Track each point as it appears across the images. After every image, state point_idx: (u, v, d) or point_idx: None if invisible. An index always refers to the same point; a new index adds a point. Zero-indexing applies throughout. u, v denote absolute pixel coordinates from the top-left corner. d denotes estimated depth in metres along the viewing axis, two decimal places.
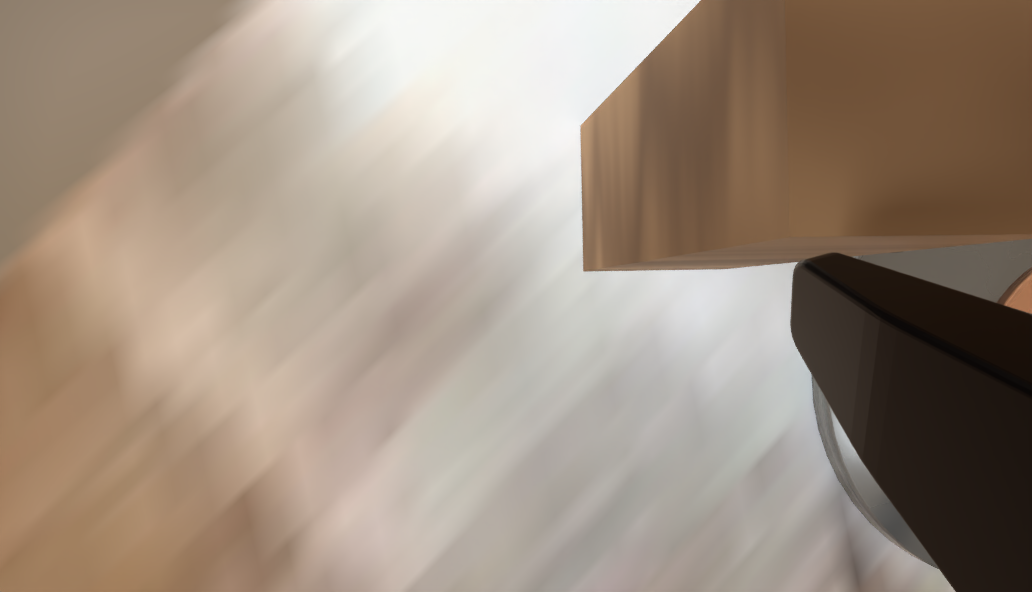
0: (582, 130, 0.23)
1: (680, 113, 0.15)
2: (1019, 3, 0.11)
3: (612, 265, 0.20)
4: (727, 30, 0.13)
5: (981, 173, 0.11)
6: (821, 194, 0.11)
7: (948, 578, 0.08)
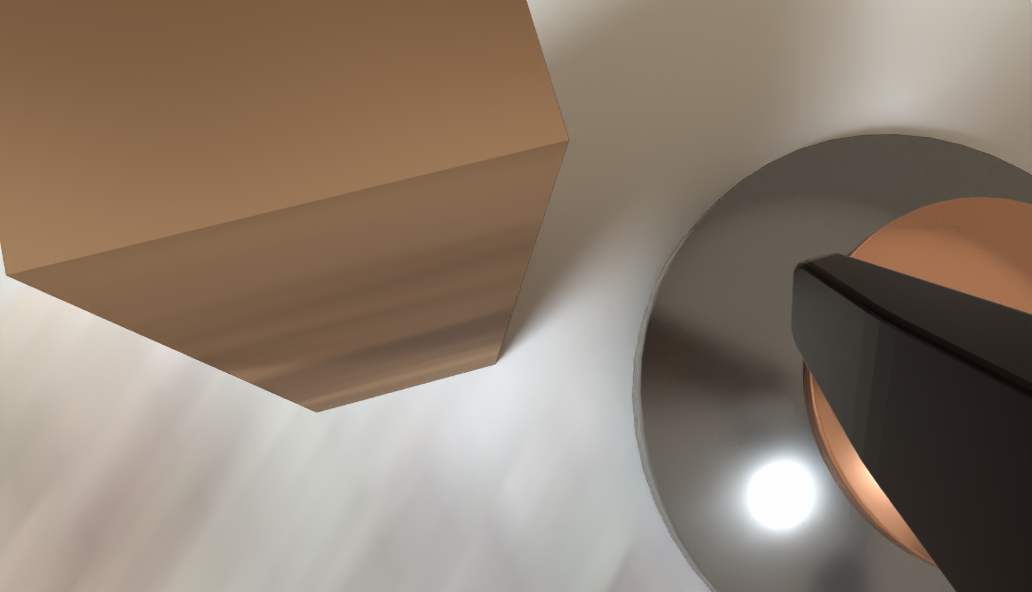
0: None
1: None
2: None
3: (284, 397, 0.15)
4: None
5: (354, 87, 0.06)
6: (58, 188, 0.06)
7: (948, 578, 0.08)
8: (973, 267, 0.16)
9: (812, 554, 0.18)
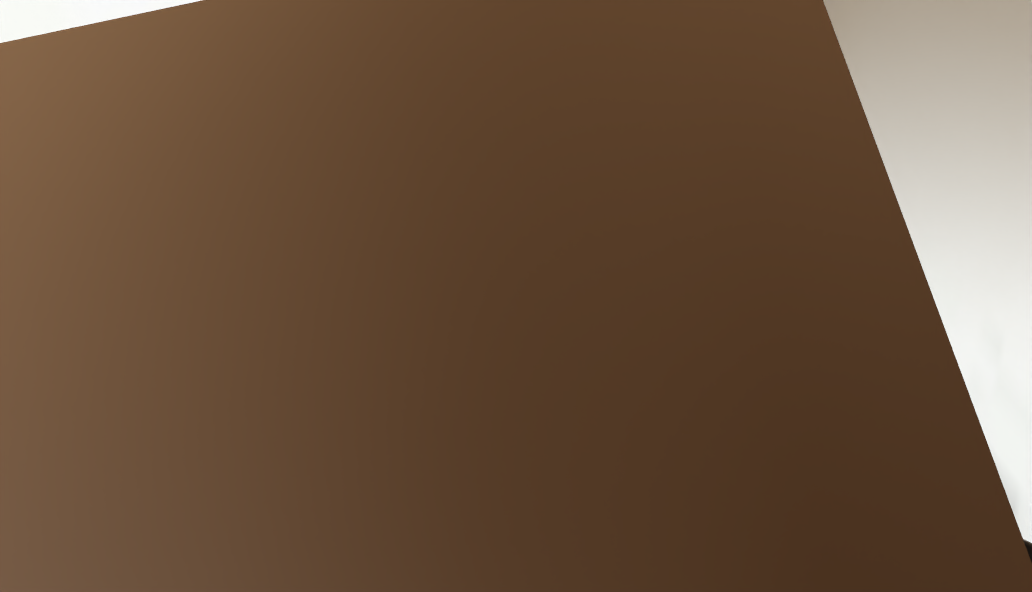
0: None
1: None
2: (604, 282, 0.02)
3: None
4: None
5: None
6: None
7: None
8: None
9: None
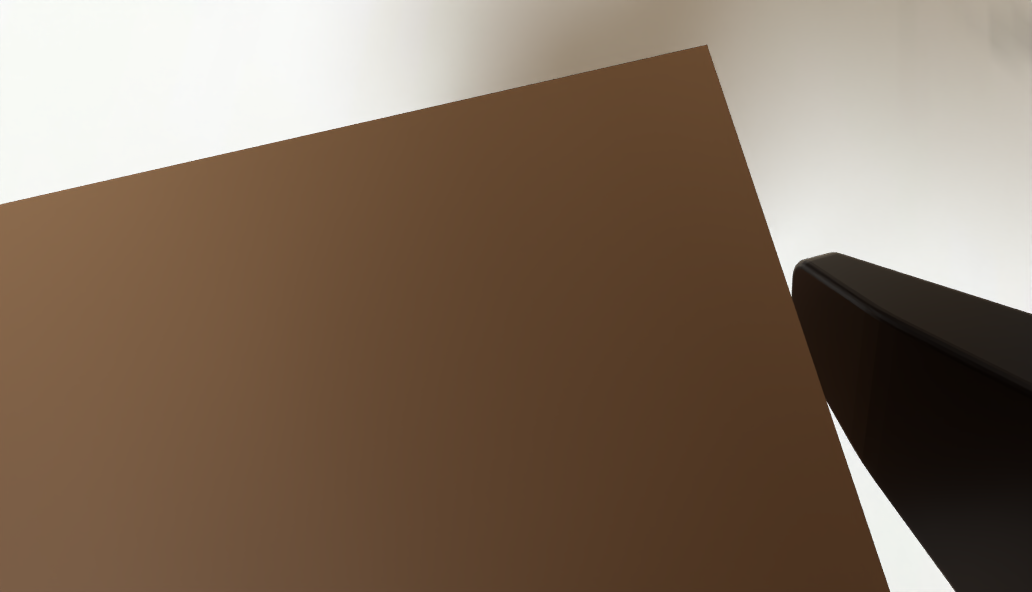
0: None
1: None
2: (576, 344, 0.03)
3: None
4: None
5: None
6: None
7: (948, 578, 0.08)
8: None
9: None
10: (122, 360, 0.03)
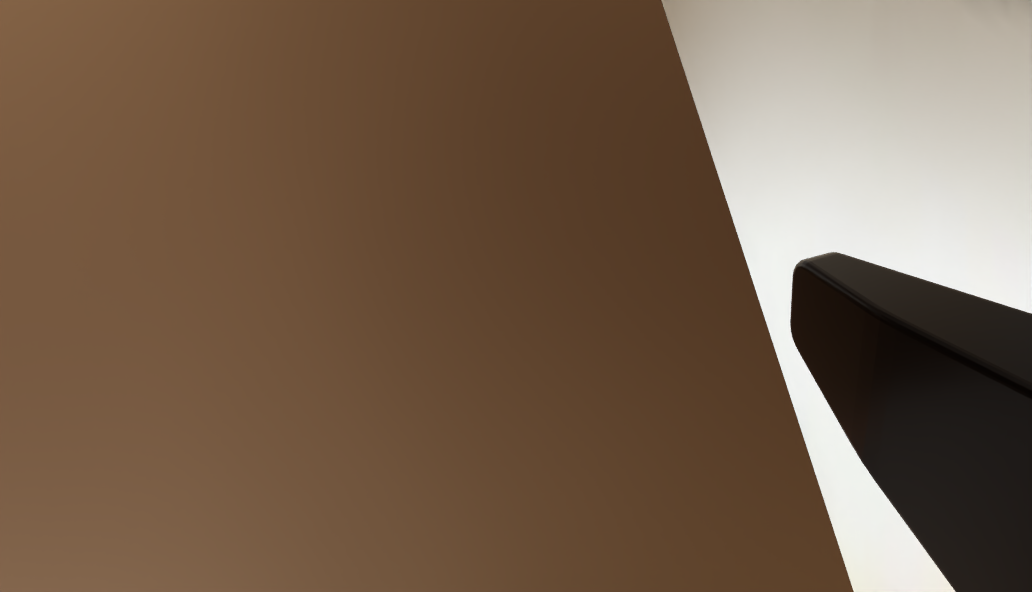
0: None
1: None
2: (465, 6, 0.04)
3: None
4: None
5: (469, 543, 0.03)
6: None
7: (948, 578, 0.08)
8: None
9: None
10: (78, 10, 0.04)
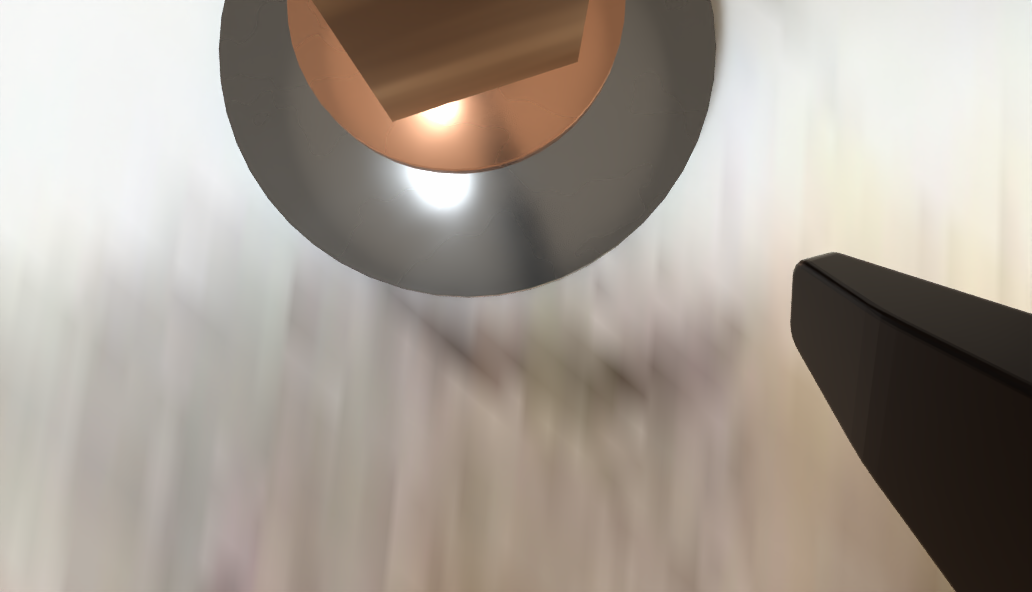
0: None
1: None
2: None
3: (358, 70, 0.14)
4: None
5: None
6: None
7: (948, 578, 0.08)
8: None
9: (420, 211, 0.21)
10: None
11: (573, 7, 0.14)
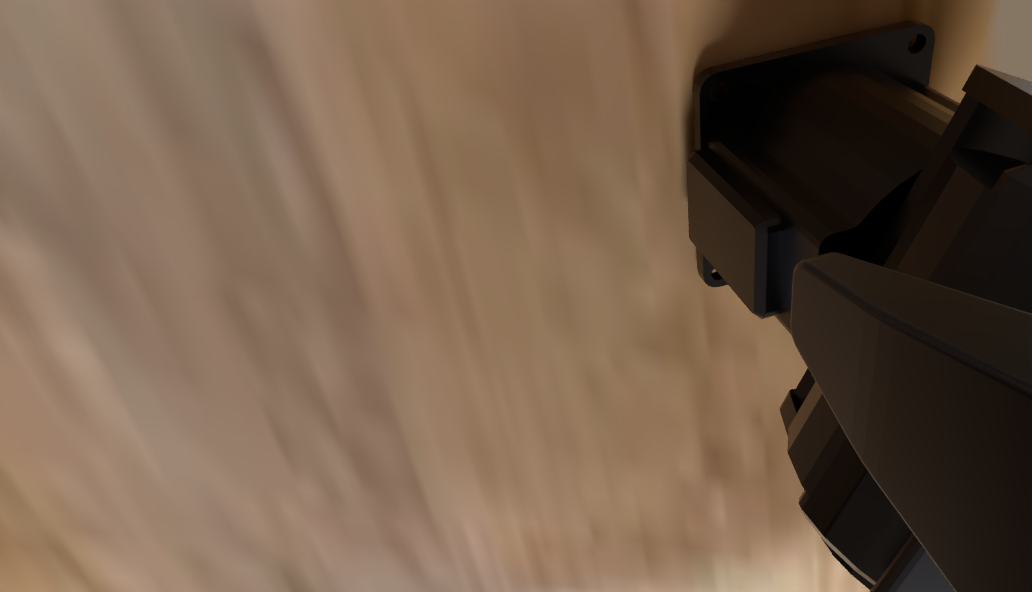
0: None
1: None
2: None
3: None
4: None
5: None
6: None
7: (948, 578, 0.08)
8: None
9: None
10: None
11: None
